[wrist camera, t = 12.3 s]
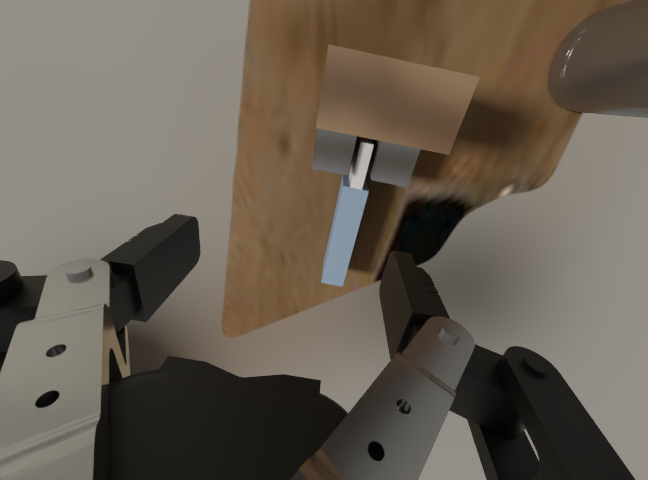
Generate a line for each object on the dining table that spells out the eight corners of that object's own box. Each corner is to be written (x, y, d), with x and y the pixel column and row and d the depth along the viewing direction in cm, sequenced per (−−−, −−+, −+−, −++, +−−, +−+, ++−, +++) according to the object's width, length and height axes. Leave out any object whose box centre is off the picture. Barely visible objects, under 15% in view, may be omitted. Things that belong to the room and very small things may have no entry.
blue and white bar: (351, 134, 33) (353, 140, 28) (375, 139, 33) (381, 146, 28) (323, 262, 42) (321, 282, 37) (342, 266, 42) (342, 286, 38)
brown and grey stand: (331, 64, 29) (324, 43, 17) (425, 84, 30) (484, 77, 18) (316, 156, 34) (301, 192, 22) (397, 173, 35) (428, 216, 22)
